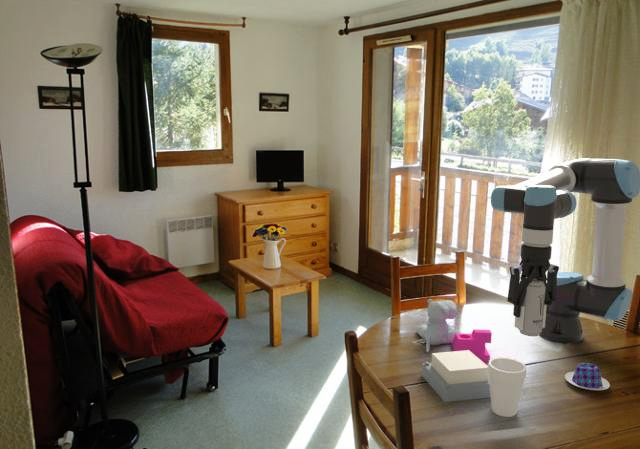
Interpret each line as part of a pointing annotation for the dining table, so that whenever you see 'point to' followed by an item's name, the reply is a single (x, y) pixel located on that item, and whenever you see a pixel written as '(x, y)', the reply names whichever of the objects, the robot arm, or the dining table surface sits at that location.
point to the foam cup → (506, 385)
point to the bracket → (473, 343)
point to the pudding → (587, 377)
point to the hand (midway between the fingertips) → (529, 326)
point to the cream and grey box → (457, 376)
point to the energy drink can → (533, 308)
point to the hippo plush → (438, 324)
